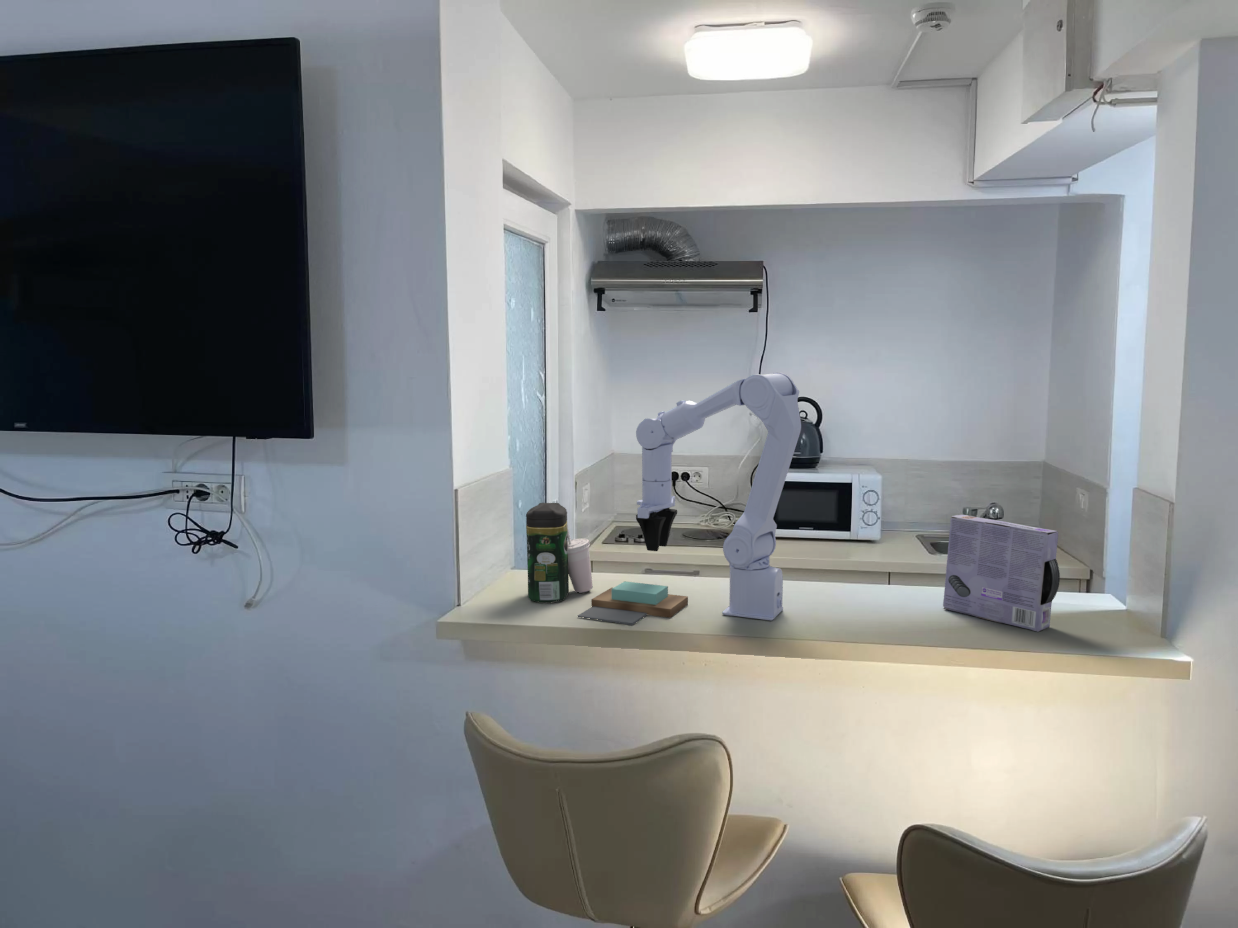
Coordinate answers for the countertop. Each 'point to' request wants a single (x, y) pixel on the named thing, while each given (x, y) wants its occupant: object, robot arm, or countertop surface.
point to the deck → (643, 604)
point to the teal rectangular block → (640, 592)
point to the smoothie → (579, 564)
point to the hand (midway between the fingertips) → (656, 548)
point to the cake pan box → (1001, 571)
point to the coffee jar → (547, 553)
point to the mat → (613, 615)
